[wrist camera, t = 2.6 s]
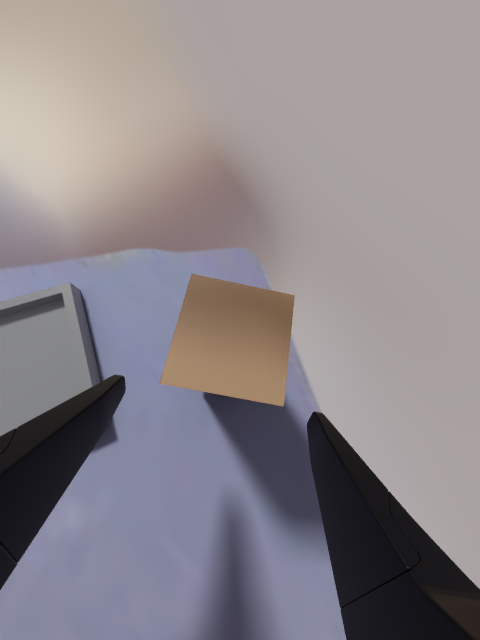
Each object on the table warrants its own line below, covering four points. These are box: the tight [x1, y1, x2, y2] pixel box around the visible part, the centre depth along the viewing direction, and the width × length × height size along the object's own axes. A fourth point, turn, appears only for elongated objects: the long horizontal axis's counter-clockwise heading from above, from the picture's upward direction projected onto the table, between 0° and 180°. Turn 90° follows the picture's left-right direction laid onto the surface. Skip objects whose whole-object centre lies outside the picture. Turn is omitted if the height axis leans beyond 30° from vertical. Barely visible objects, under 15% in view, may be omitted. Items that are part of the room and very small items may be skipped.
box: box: [0, 283, 110, 436], centre depth 17 cm, size 14×14×2 cm
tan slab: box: [160, 274, 294, 406], centre depth 14 cm, size 4×7×13 cm, turn 80°
